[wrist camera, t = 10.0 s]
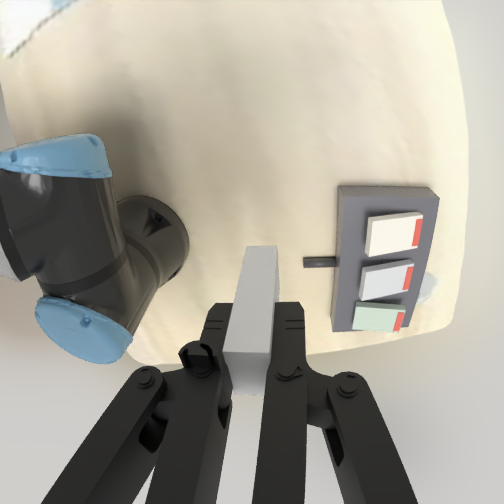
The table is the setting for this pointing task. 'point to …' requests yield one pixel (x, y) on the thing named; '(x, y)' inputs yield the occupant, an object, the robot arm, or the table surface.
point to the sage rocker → (378, 317)
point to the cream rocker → (393, 233)
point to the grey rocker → (385, 279)
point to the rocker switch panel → (354, 257)
